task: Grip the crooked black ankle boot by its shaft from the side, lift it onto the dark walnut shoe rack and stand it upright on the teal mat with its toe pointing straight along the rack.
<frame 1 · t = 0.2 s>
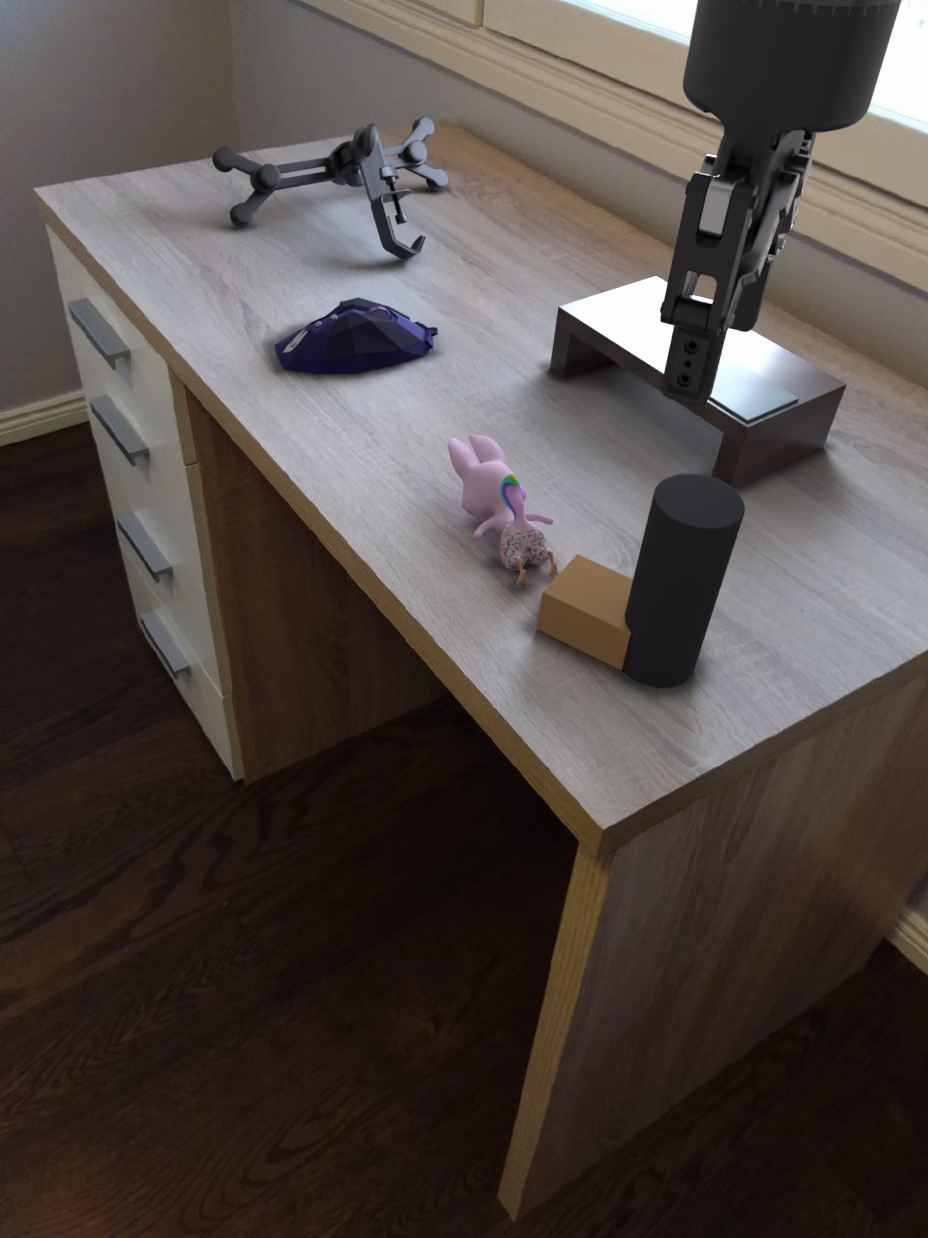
hand: (709, 360, 50), 23 cm above the table, tool pointing down, fingers open, 8 cm apart
boot: (655, 658, 67), on the table
tablet mount: (370, 229, 112), on the table
shoe rack: (681, 405, 90), on the table
rabbit figure: (496, 525, 76), on the table
computer mouse: (357, 348, 94), on the table
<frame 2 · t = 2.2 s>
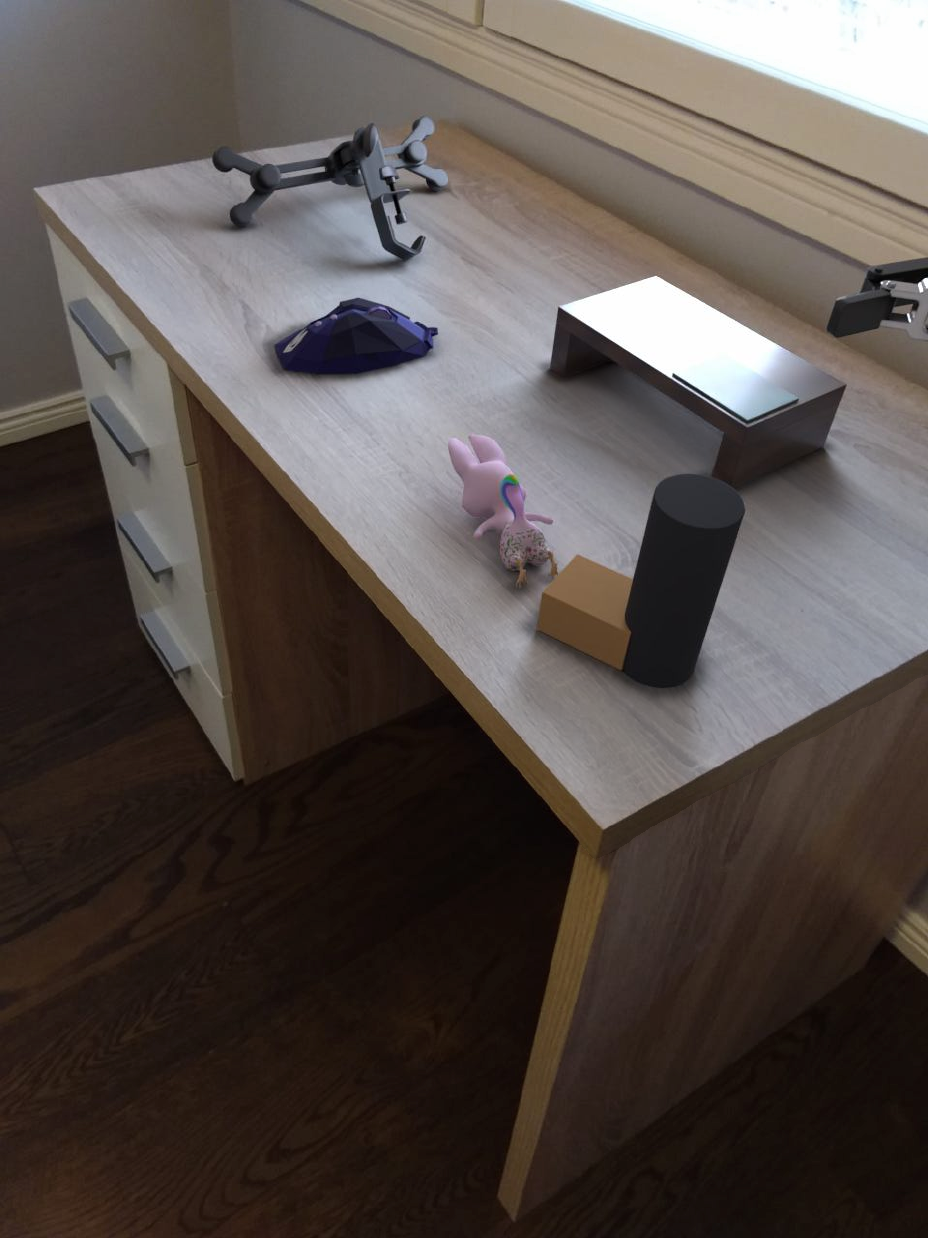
hand: (886, 354, 57), 20 cm above the table, tool horizontal, fingers open, 8 cm apart
nothing on the table moved.
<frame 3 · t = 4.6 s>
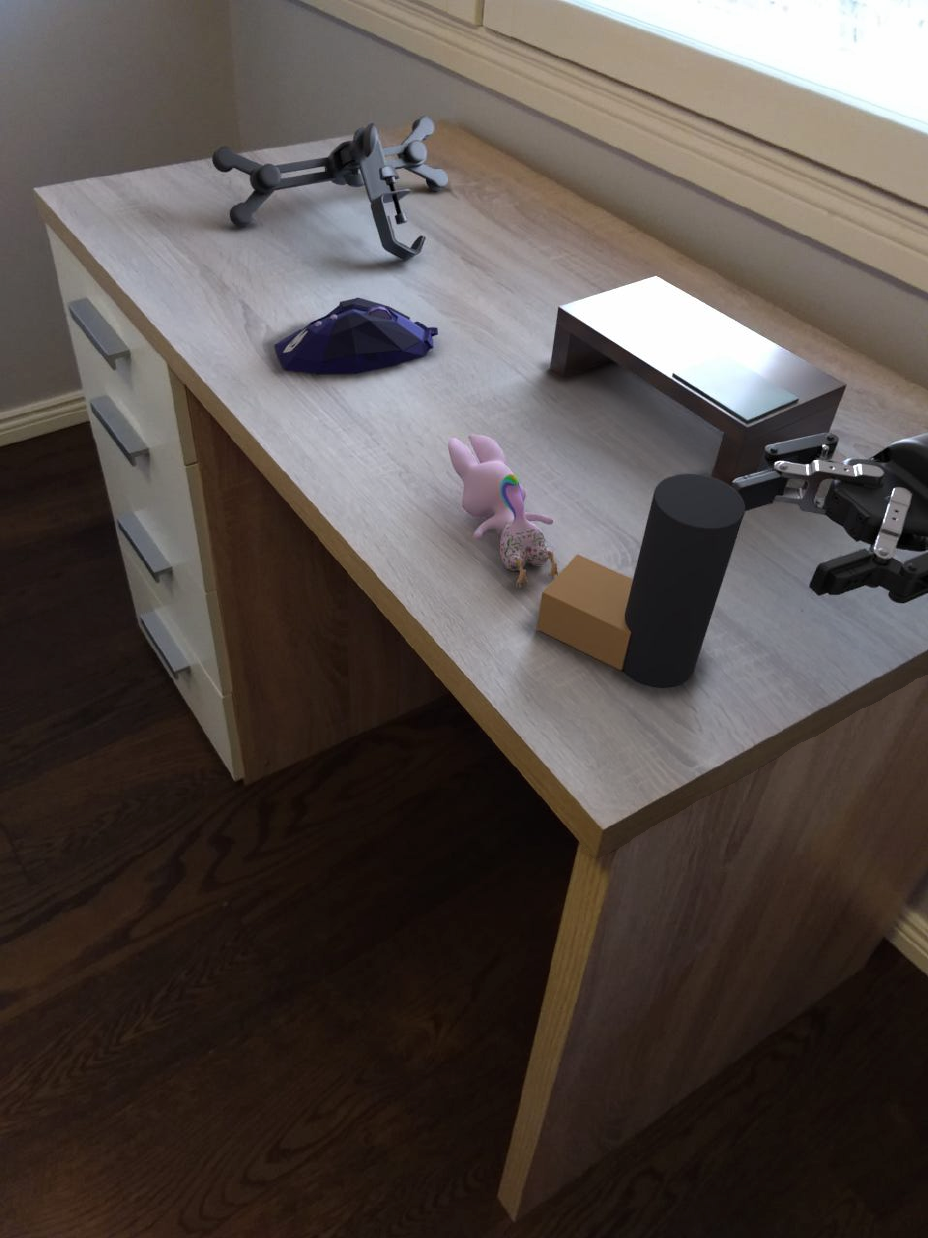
hand: (771, 538, 64), 8 cm above the table, tool horizontal, fingers open, 8 cm apart
nothing on the table moved.
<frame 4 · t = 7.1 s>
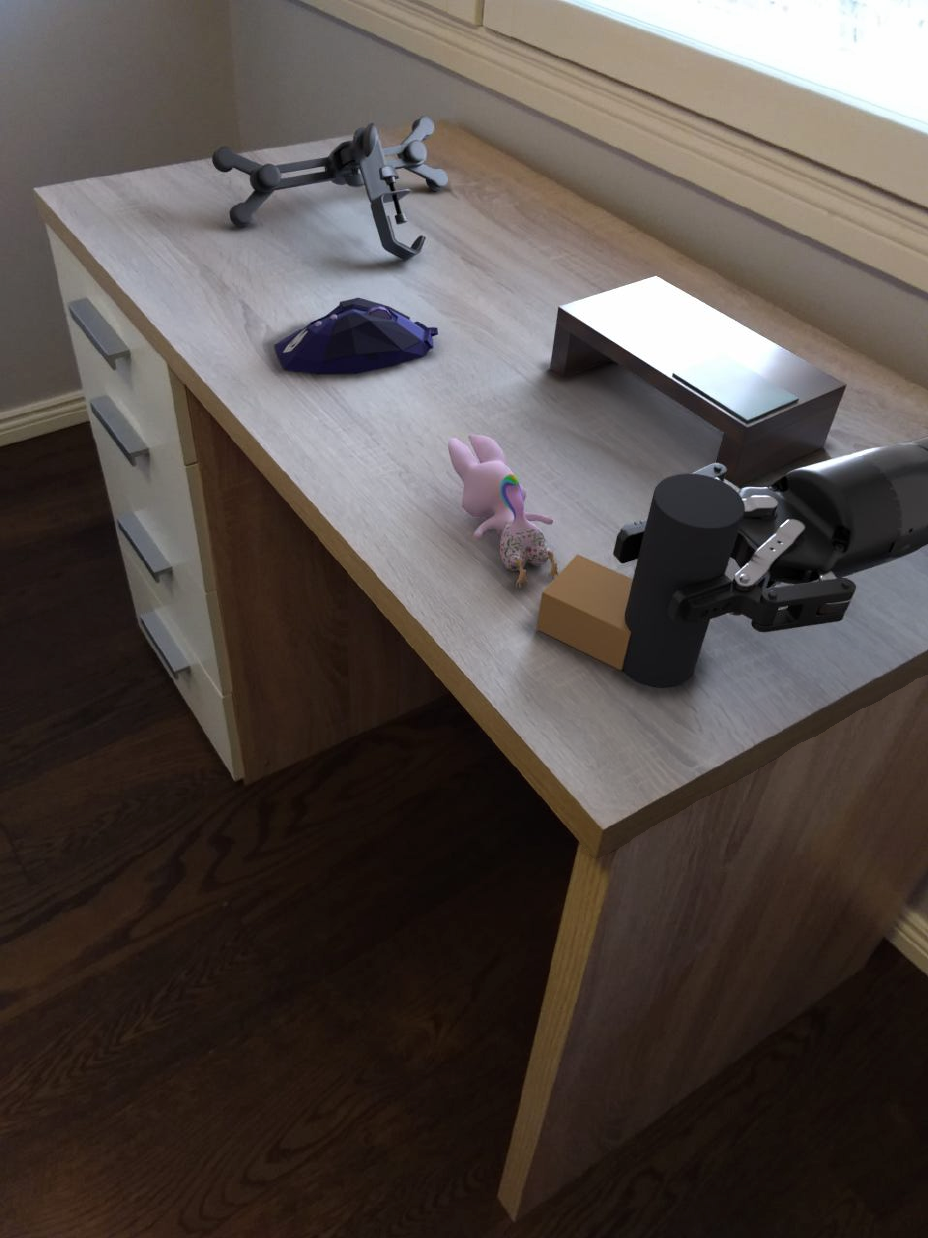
hand: (646, 577, 60), 8 cm above the table, tool horizontal, fingers closed on boot, 5 cm apart
boot: (655, 658, 67), on the table, touching gripper
everything else where it was.
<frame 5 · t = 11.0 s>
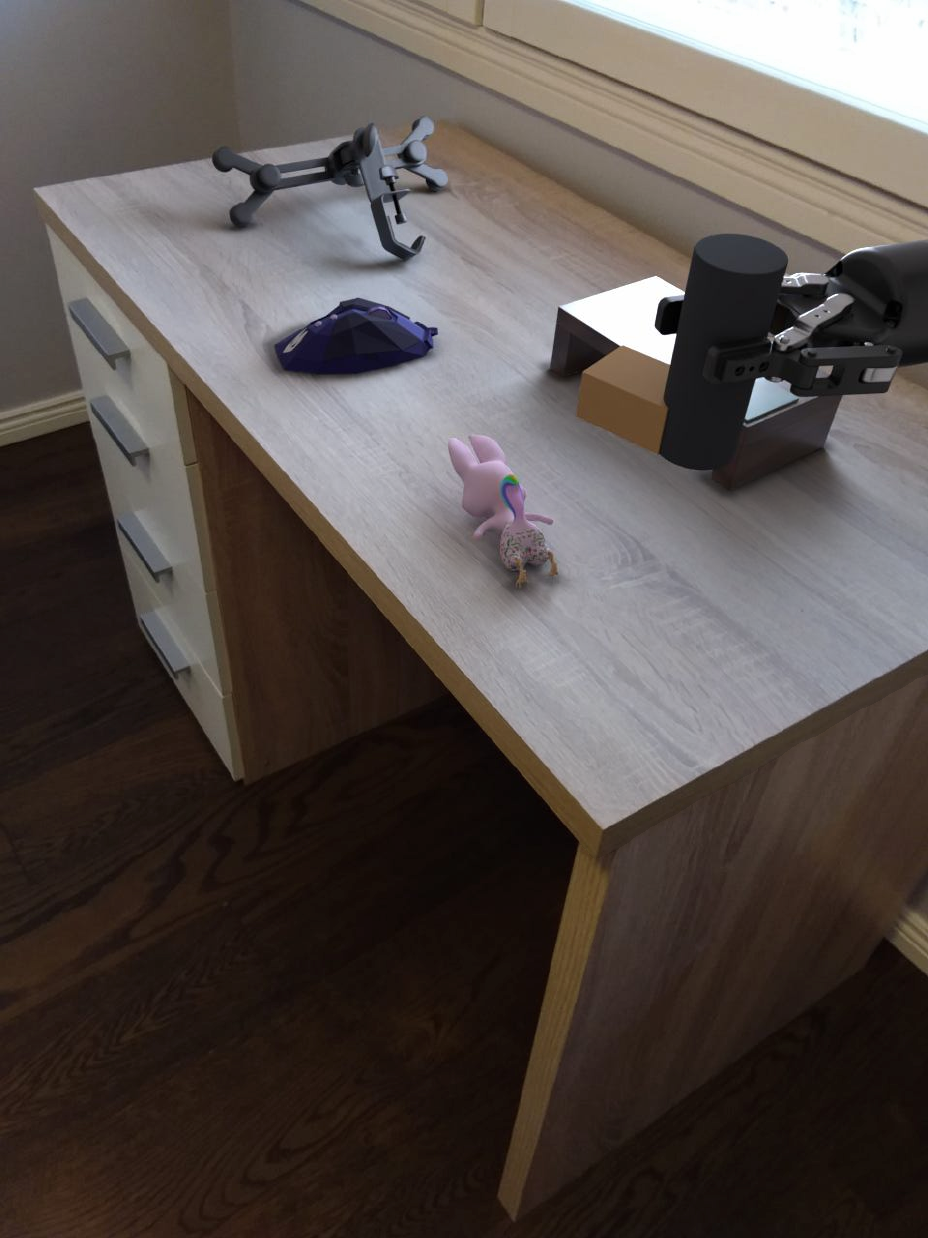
hand: (684, 340, 59), 19 cm above the table, tool horizontal, fingers closed on boot, 5 cm apart
boot: (694, 447, 66), point 11 cm above the table, touching gripper
everything else where it was.
when the fingers open (14 cm above the table, at t = 15.1 s): boot stays where it is, resting on shoe rack.
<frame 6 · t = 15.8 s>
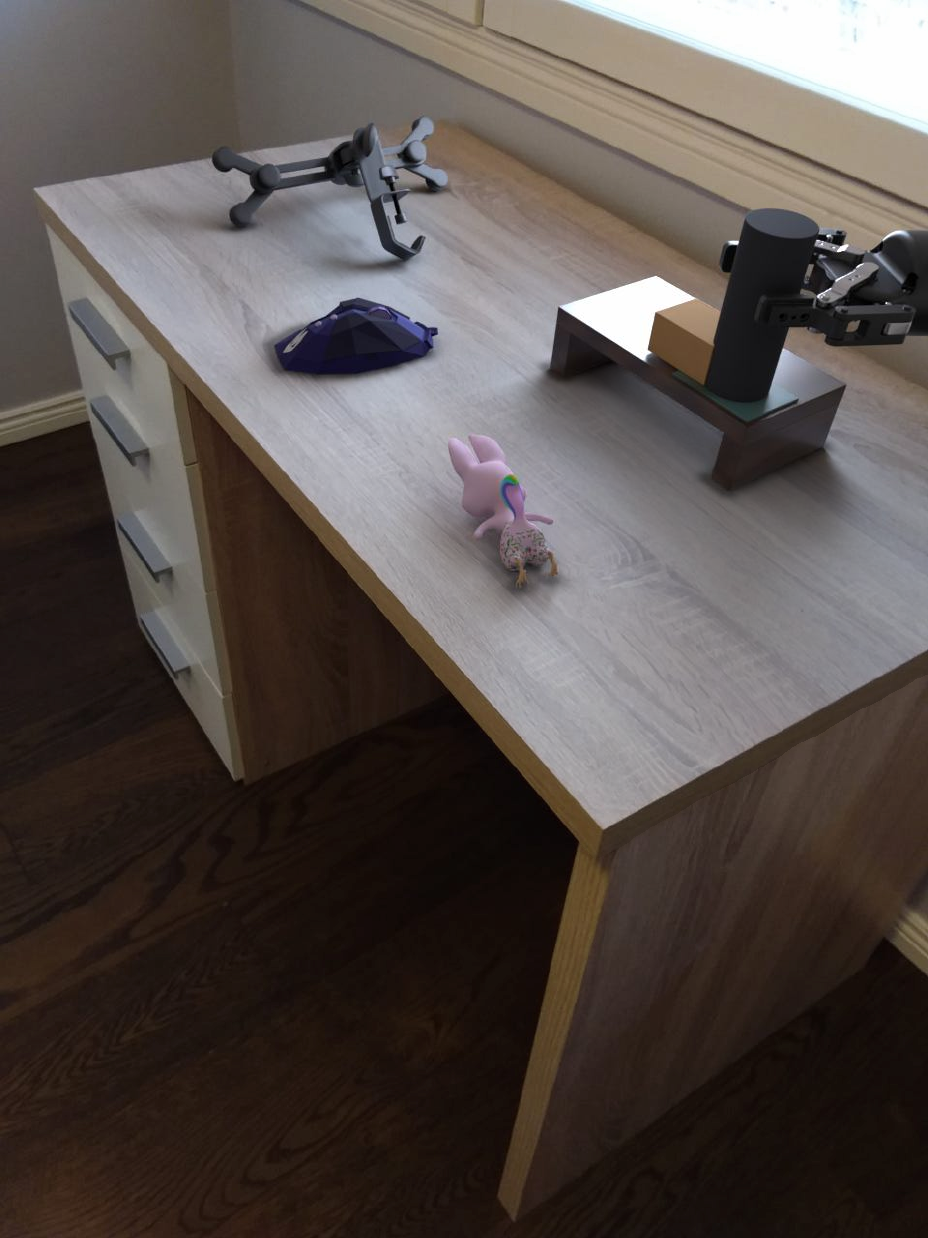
hand: (739, 282, 74), 15 cm above the table, tool horizontal, fingers open, 8 cm apart
boot: (736, 384, 81), point 6 cm above the table, touching shoe rack
everything else where it was.
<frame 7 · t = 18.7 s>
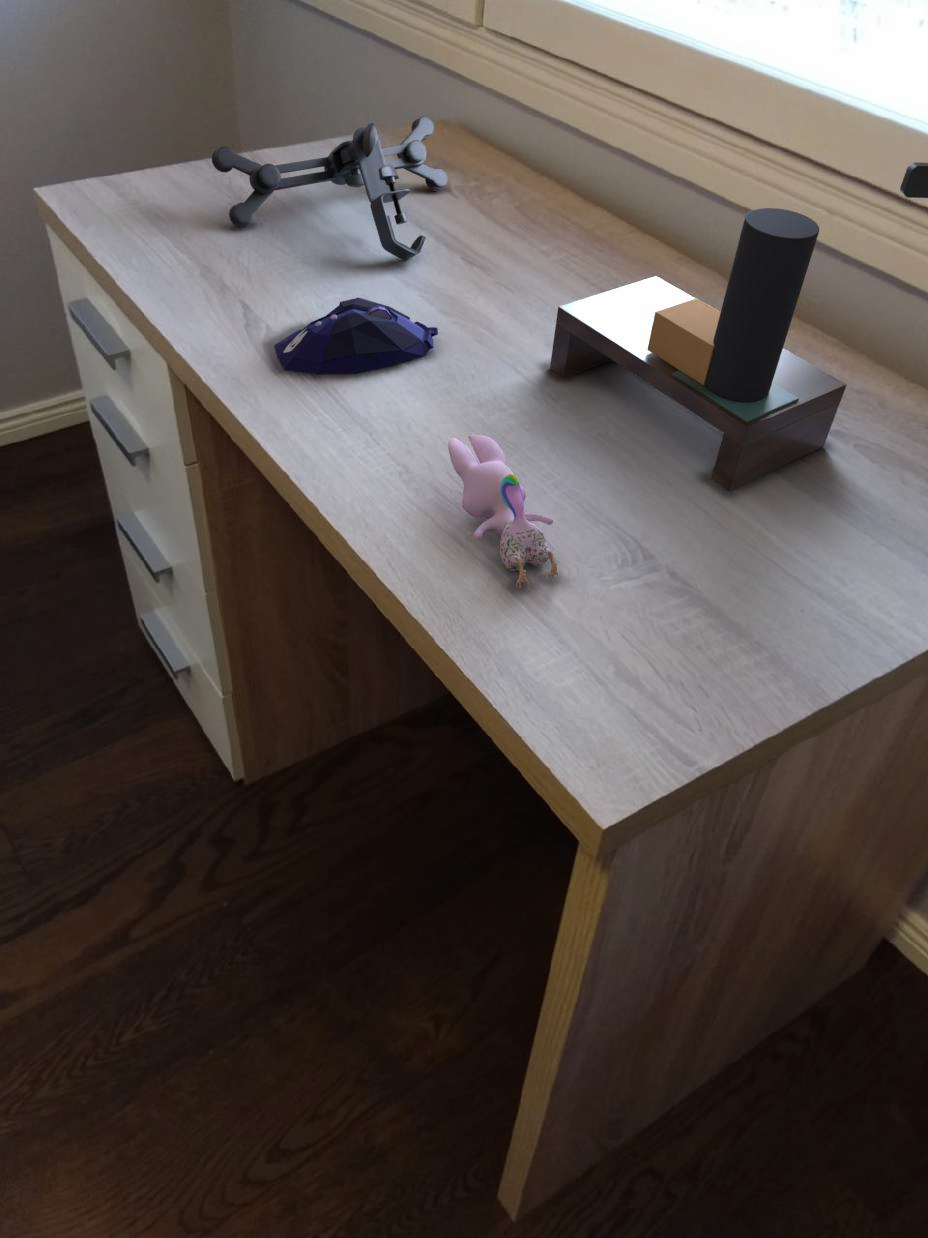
nothing on the table moved.
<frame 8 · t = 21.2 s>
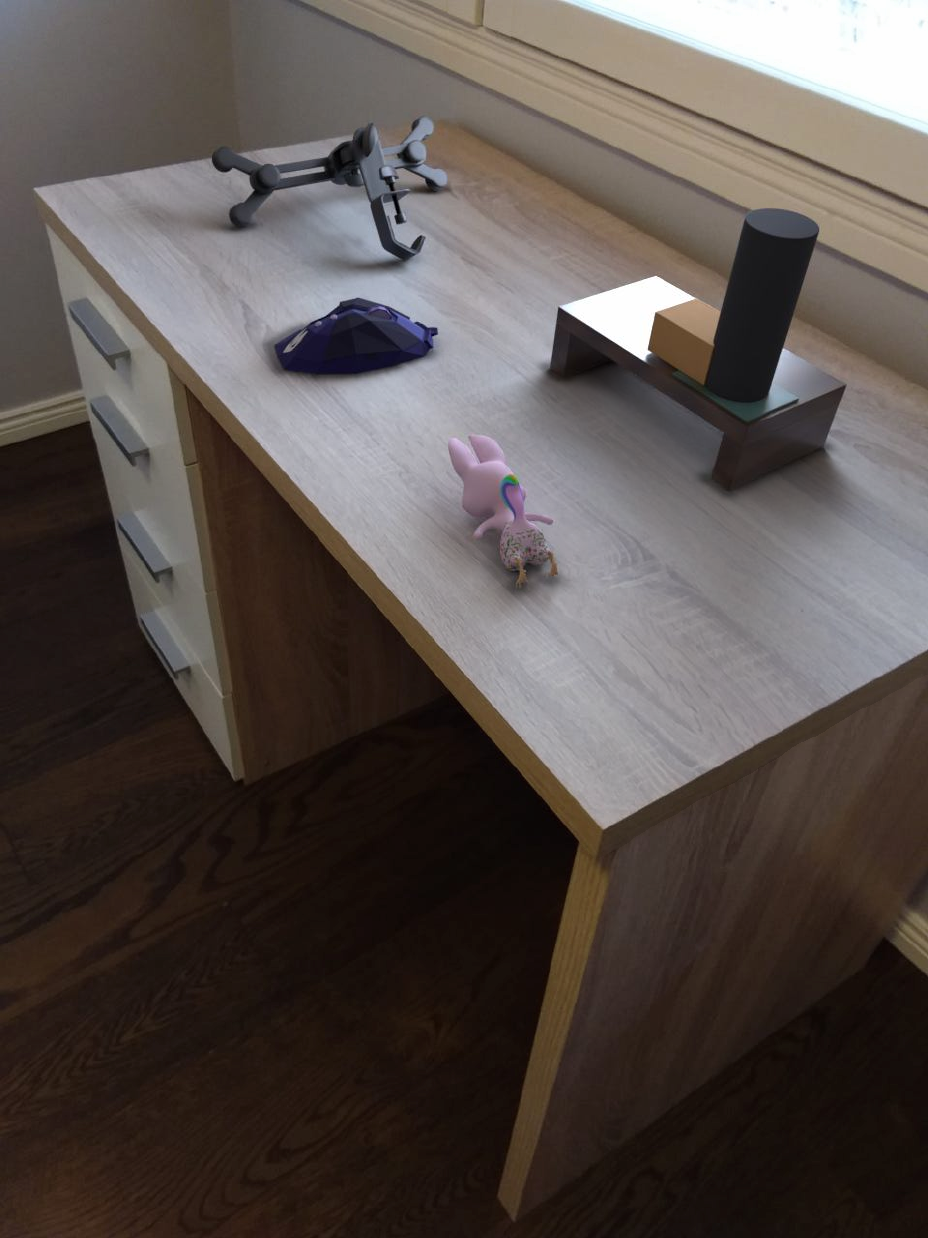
nothing on the table moved.
at the end: boot 0.1 cm from the target spot on the shoe rack, point 6.2 cm above the shoe rack's base; boot tilted 0°; the gripper is holding nothing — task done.
